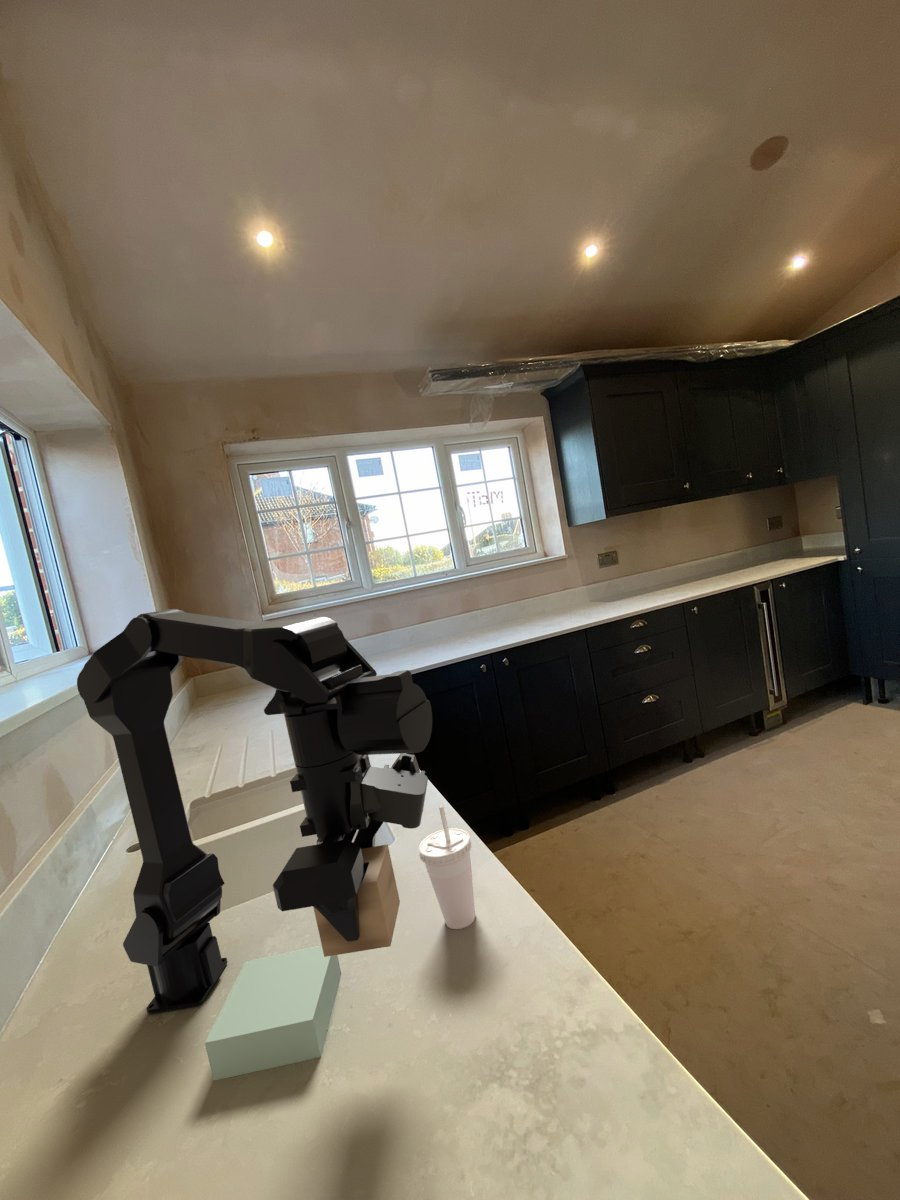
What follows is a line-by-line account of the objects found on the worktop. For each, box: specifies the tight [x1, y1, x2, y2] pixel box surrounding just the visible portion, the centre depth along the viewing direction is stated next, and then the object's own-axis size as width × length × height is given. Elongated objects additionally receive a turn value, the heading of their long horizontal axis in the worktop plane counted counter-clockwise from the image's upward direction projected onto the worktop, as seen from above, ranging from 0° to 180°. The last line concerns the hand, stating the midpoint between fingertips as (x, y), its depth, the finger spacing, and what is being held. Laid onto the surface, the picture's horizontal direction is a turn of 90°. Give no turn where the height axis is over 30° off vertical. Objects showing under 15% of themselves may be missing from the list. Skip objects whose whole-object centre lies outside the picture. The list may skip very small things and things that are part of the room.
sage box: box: [204, 944, 342, 1081], centre depth 52 cm, size 10×10×4 cm
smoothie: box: [418, 805, 476, 930], centre depth 62 cm, size 6×6×14 cm
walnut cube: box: [312, 844, 401, 957], centre depth 48 cm, size 6×6×6 cm
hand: (361, 915), depth 48 cm, fingers closed on walnut cube, 6 cm apart
